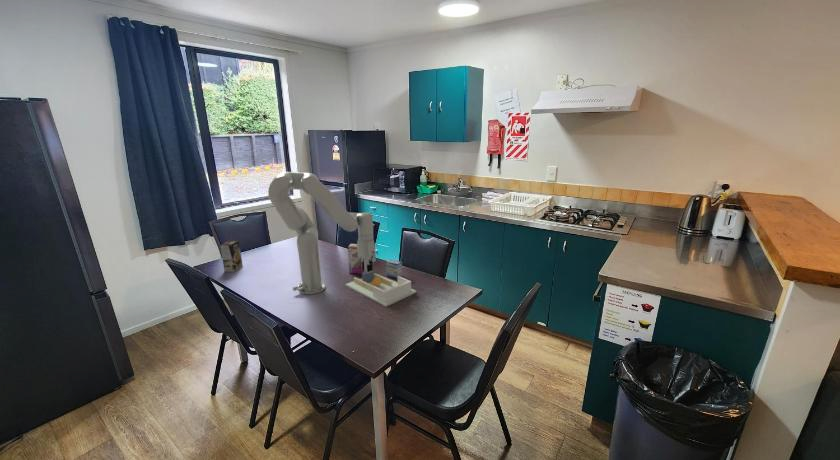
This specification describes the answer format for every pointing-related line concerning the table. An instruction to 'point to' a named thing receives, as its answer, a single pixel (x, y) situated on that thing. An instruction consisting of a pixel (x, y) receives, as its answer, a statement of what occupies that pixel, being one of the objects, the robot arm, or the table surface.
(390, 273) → the medicine box
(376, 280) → the ball
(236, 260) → the coffee box
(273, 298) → the table surface
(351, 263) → the candy bar box
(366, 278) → the kicker
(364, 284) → the white tray
